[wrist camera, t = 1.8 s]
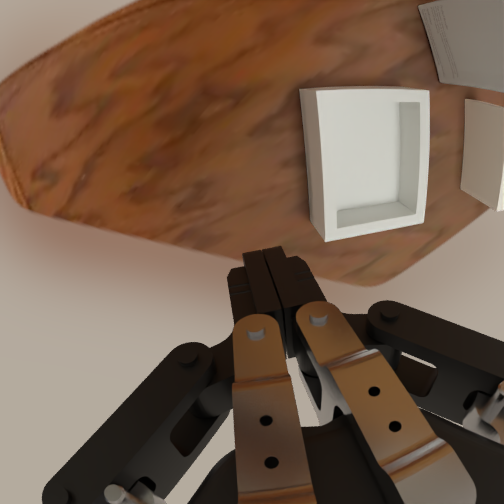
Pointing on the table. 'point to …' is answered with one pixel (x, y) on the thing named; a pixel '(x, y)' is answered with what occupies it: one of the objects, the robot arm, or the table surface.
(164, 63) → the table surface
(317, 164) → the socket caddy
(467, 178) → the wall
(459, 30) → the skincare box
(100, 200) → the table surface
